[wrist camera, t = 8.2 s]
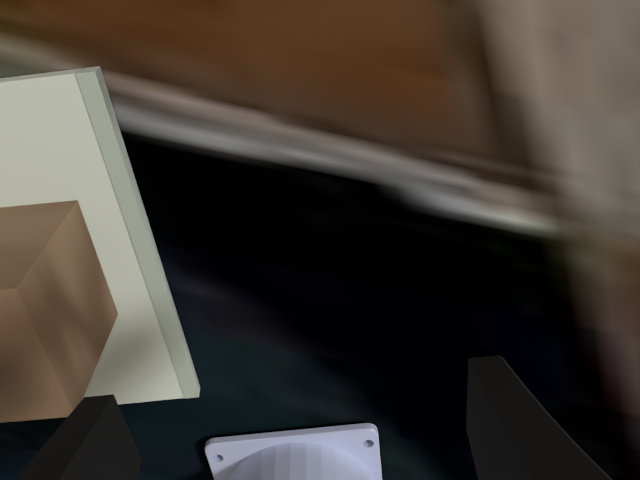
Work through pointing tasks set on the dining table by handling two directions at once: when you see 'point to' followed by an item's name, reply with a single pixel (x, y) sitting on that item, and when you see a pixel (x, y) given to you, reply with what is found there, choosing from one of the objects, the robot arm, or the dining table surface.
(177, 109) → the dining table surface
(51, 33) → the dining table surface
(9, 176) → the cream tray
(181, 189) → the dining table surface
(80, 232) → the walnut cube
